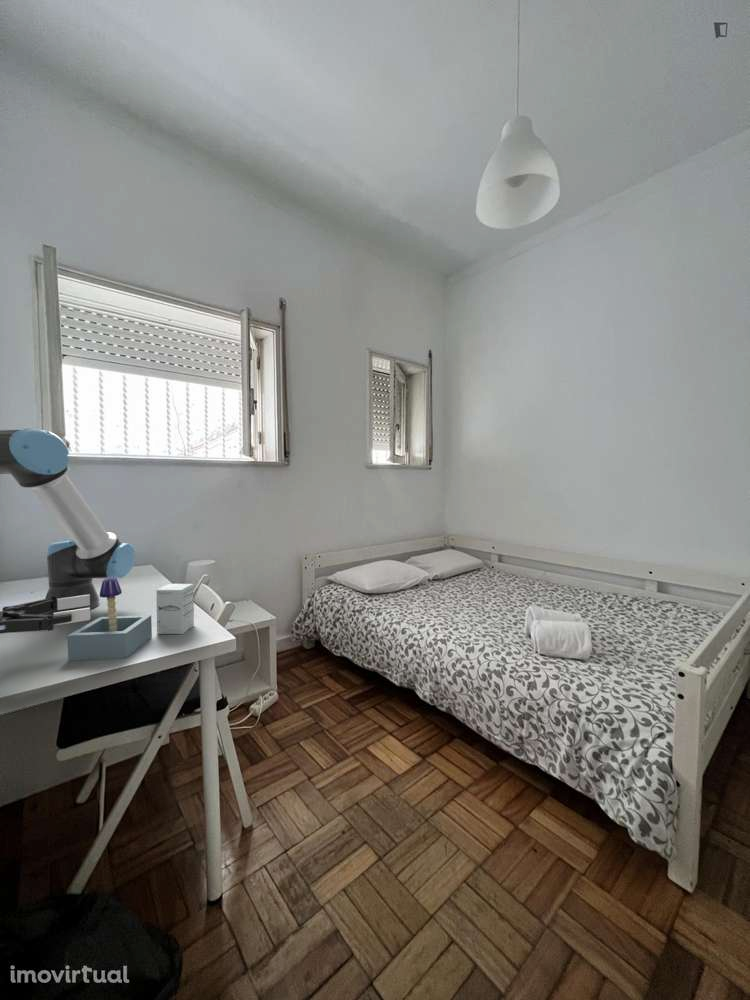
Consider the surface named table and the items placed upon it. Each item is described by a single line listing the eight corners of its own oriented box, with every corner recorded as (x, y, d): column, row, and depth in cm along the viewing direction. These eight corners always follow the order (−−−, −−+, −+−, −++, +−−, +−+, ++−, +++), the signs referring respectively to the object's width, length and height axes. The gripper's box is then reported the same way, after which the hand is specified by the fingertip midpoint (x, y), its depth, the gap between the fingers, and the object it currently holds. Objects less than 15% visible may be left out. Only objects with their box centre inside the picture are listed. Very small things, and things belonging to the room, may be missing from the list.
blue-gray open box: (100, 639, 104) (100, 617, 104) (151, 636, 106) (151, 615, 106) (68, 660, 91) (67, 635, 91) (126, 657, 93) (126, 633, 93)
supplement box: (155, 634, 107) (154, 589, 107) (170, 625, 115) (169, 582, 114) (182, 634, 107) (181, 589, 107) (195, 625, 115) (194, 582, 114)
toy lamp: (103, 649, 95) (101, 582, 95) (98, 644, 99) (97, 579, 98) (126, 643, 99) (124, 578, 98) (120, 638, 102) (119, 575, 101)
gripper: (-20, 625, 93) (90, 608, 105) (-50, 663, 73) (90, 637, 85) (-22, 594, 93) (89, 581, 105) (-51, 624, 73) (89, 603, 85)
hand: (90, 606), depth 95 cm, fingers open, 13 cm apart
